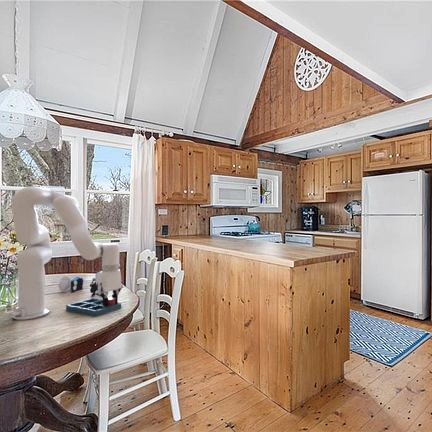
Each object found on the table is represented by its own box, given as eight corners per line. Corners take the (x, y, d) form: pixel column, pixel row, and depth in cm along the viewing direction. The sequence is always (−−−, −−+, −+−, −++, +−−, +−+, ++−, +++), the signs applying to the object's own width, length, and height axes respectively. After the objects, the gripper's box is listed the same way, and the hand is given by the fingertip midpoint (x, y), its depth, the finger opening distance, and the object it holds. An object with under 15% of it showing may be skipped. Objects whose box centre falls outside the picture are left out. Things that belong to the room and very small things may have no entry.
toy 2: (106, 308, 184) (110, 286, 194) (102, 291, 171) (107, 268, 180) (92, 309, 181) (97, 287, 191) (86, 291, 168) (92, 269, 178)
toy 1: (87, 291, 191) (67, 294, 177) (73, 288, 193) (51, 291, 178) (90, 276, 192) (70, 278, 178) (76, 274, 194) (55, 276, 179)
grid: (95, 316, 142) (95, 310, 142) (66, 310, 149) (66, 305, 149) (121, 308, 155) (121, 303, 155) (92, 303, 162) (93, 298, 162)
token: (109, 306, 150) (109, 300, 150) (102, 305, 151) (102, 299, 151) (117, 303, 154) (117, 297, 154) (110, 302, 156) (110, 296, 155)
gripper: (119, 264, 162) (119, 298, 162) (89, 270, 146) (88, 307, 146) (130, 265, 159) (129, 300, 159) (100, 271, 143) (99, 309, 143)
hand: (110, 303), depth 153 cm, fingers closed on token, 4 cm apart
